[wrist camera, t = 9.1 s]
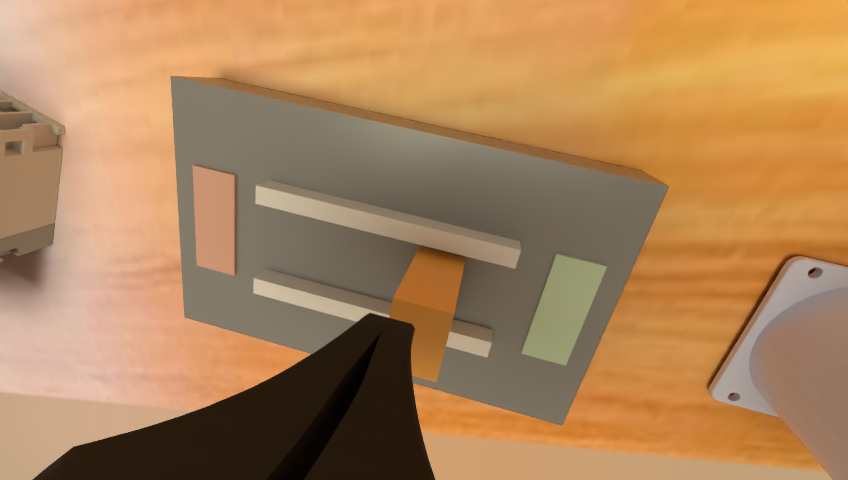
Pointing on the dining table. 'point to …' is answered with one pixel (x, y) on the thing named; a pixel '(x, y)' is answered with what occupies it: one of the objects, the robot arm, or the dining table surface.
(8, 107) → the circuit breaker
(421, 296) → the breaker lever
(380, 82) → the dining table surface
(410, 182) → the slider control box
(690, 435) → the dining table surface
